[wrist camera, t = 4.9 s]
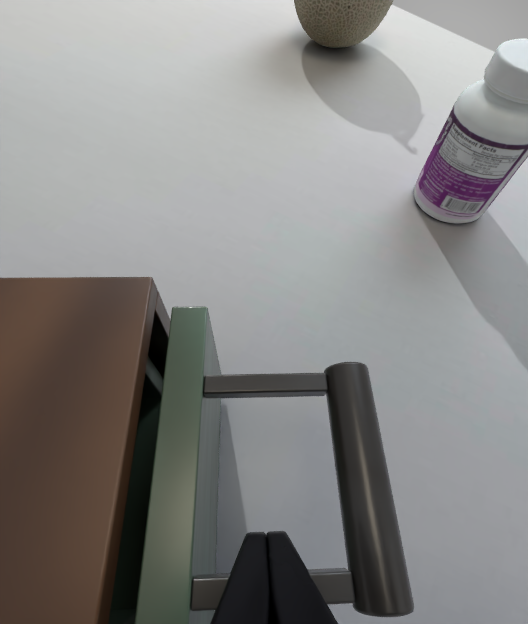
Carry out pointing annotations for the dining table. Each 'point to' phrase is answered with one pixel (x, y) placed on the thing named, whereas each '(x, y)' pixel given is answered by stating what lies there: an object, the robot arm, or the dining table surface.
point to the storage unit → (69, 437)
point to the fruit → (340, 20)
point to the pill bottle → (479, 141)
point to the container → (204, 486)
